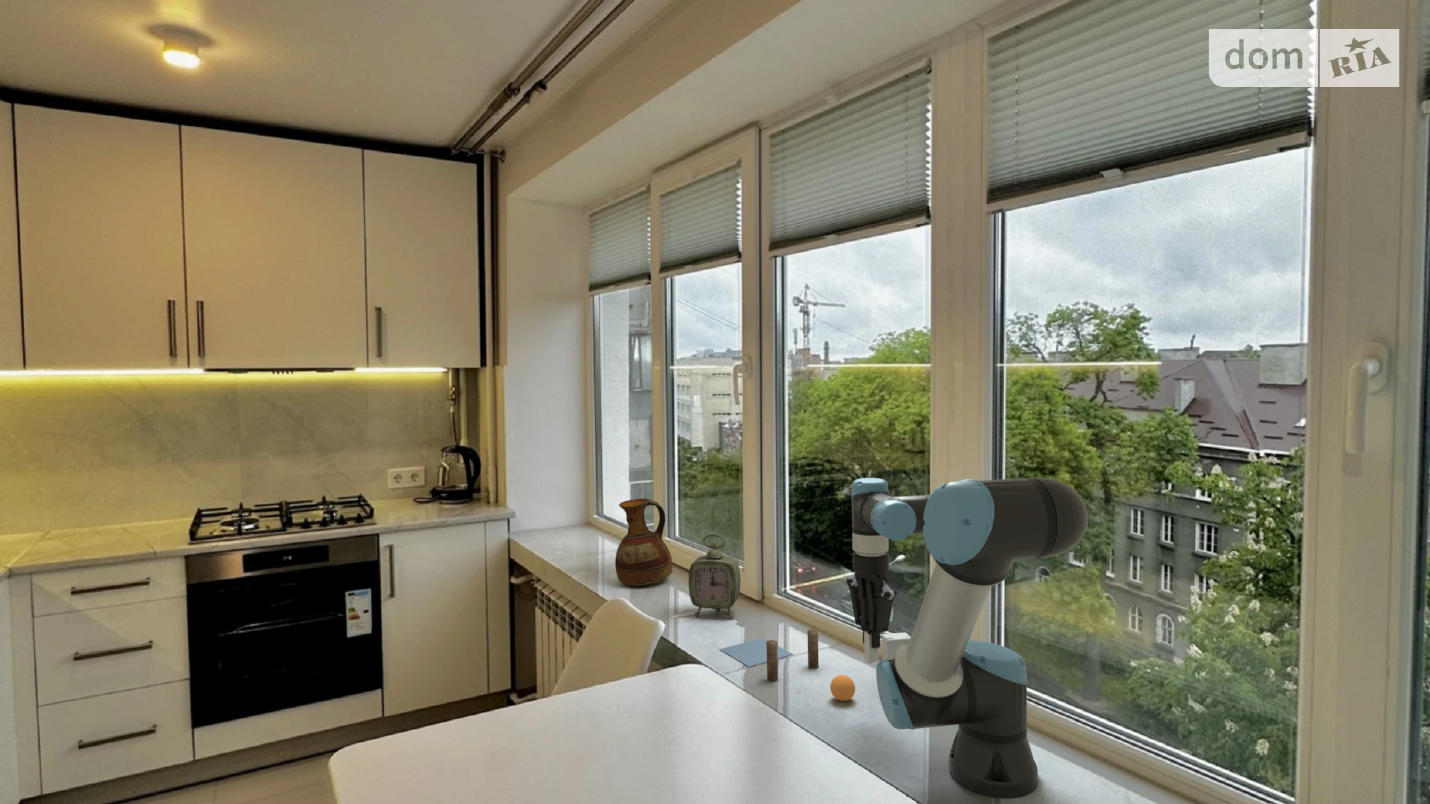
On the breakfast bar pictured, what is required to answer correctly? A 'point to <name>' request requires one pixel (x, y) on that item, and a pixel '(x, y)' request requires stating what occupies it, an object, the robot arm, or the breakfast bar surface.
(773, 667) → the left post
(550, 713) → the breakfast bar surface
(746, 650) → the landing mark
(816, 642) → the right post
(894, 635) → the skincare box
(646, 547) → the ceramic pitcher
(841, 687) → the ball
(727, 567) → the tabletop clock
